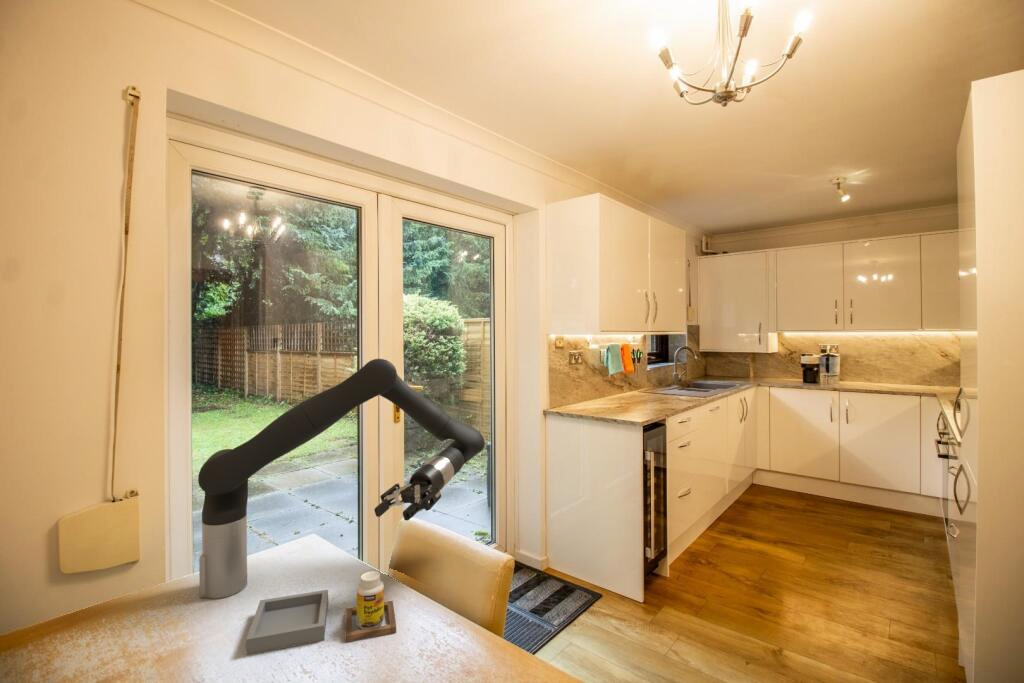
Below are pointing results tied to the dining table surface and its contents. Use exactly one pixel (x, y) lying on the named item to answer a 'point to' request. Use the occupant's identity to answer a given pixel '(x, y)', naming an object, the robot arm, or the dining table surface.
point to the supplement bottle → (370, 601)
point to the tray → (288, 622)
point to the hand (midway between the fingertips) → (390, 515)
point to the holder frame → (369, 632)
